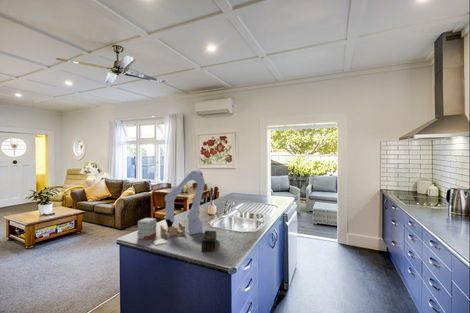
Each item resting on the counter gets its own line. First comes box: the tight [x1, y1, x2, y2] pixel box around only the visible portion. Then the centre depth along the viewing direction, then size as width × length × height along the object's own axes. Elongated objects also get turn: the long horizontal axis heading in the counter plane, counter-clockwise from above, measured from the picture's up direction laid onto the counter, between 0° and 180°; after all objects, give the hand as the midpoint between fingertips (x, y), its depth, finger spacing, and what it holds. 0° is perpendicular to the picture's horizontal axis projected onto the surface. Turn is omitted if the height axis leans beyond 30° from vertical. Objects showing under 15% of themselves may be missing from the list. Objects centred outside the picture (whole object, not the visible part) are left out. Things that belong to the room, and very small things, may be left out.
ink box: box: [137, 217, 157, 241], centre depth 148 cm, size 9×9×12 cm
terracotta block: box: [166, 225, 179, 237], centre depth 154 cm, size 6×4×5 cm, turn 121°
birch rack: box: [159, 221, 186, 240], centre depth 154 cm, size 14×10×6 cm
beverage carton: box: [201, 230, 217, 253], centre depth 137 cm, size 8×19×7 cm, turn 2°
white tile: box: [152, 238, 168, 246], centre depth 140 cm, size 7×7×1 cm
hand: (169, 229), depth 160 cm, fingers closed
